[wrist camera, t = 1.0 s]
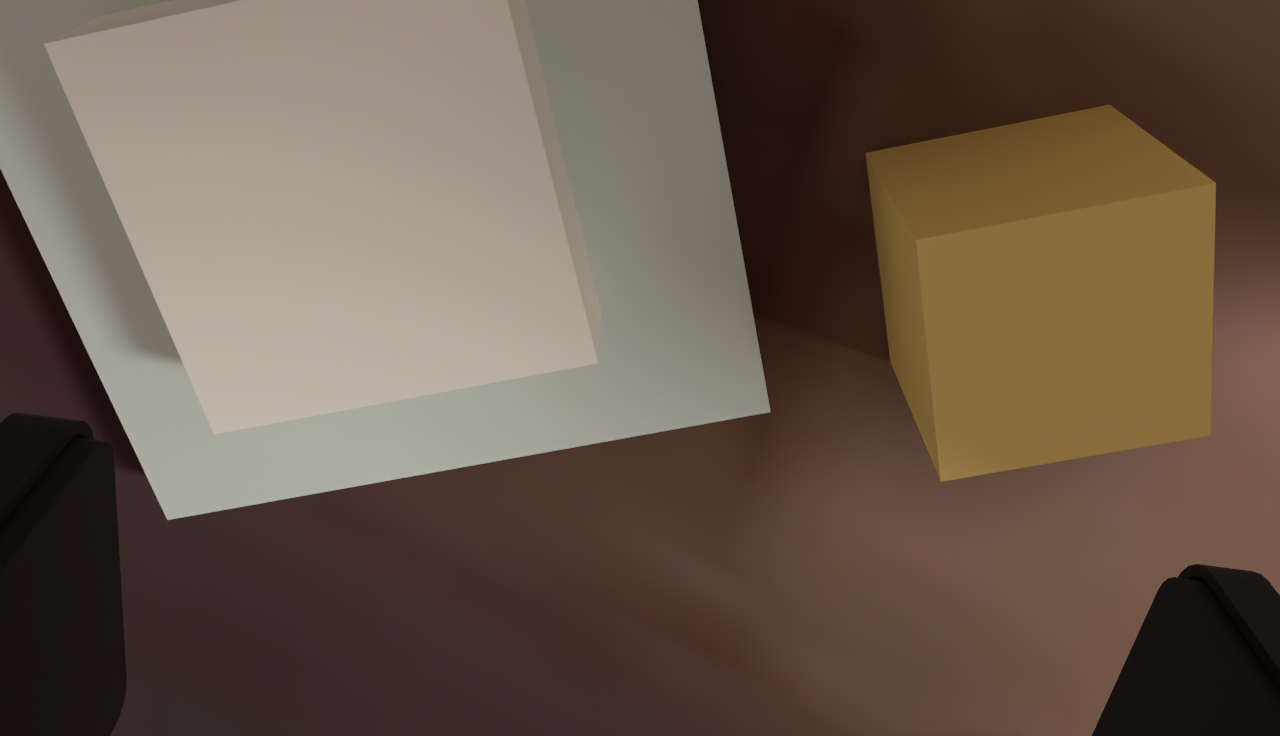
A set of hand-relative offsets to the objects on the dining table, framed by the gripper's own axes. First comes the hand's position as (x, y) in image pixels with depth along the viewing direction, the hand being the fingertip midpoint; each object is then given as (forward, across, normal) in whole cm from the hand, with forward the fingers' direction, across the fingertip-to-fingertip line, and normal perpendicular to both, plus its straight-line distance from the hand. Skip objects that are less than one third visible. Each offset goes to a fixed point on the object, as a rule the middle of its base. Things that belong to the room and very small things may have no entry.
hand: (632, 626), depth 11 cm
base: (+22, +6, +4) cm, 24 cm away
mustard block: (+23, -11, +4) cm, 25 cm away
